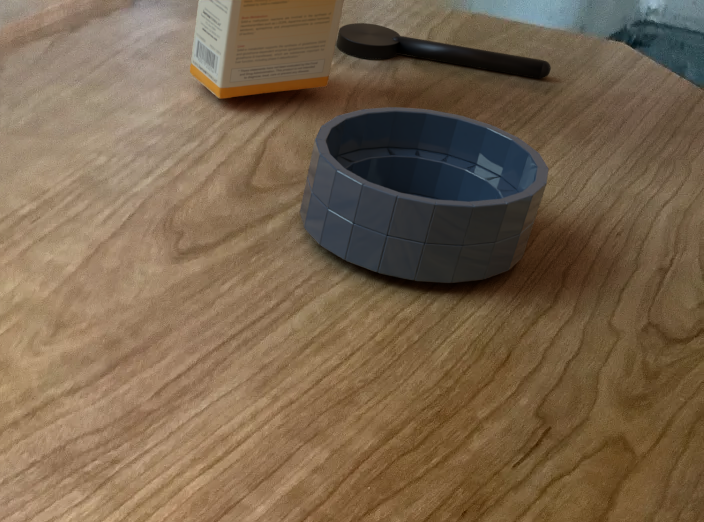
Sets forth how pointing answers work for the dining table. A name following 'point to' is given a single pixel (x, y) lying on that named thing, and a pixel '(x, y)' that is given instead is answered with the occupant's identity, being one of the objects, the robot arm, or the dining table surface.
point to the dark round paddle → (431, 51)
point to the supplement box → (264, 45)
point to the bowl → (422, 194)
